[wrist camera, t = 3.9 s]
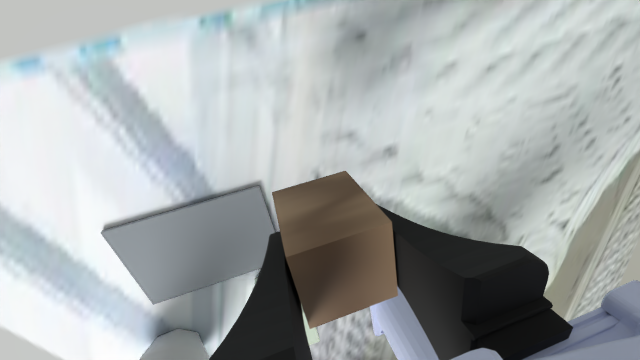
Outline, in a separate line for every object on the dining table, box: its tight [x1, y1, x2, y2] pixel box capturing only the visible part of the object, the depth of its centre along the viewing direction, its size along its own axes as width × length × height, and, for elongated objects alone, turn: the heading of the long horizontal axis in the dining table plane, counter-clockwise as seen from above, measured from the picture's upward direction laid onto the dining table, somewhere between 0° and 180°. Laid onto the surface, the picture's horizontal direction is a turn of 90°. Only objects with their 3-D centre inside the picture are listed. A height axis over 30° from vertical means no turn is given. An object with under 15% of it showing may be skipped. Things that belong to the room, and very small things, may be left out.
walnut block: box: [272, 171, 398, 329], centre depth 12 cm, size 4×4×5 cm
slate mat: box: [101, 185, 275, 304], centre depth 21 cm, size 11×8×1 cm
